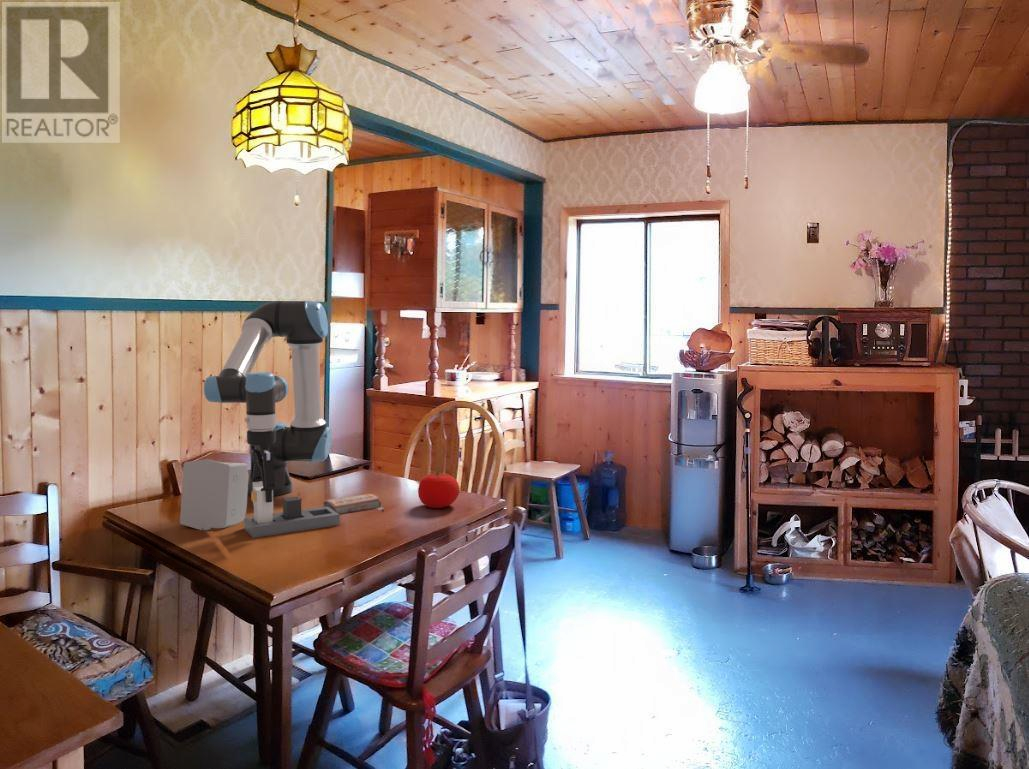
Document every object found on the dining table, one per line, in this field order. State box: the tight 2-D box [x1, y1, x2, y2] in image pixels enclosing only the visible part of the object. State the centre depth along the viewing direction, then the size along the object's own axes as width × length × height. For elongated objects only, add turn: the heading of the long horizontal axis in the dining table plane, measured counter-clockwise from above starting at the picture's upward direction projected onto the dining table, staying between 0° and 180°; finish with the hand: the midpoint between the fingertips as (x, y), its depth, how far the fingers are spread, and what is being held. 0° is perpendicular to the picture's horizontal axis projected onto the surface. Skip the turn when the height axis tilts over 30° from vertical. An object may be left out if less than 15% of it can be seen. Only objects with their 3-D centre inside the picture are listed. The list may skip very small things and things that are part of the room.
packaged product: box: [323, 493, 385, 515], centre depth 233 cm, size 18×5×10 cm
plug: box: [250, 487, 273, 524], centre depth 208 cm, size 4×5×12 cm
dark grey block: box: [282, 496, 302, 520], centre depth 213 cm, size 4×4×8 cm
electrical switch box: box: [179, 458, 249, 531], centre depth 220 cm, size 15×15×20 cm
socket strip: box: [243, 506, 341, 539], centre depth 213 cm, size 10×24×4 cm, turn 123°
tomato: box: [417, 472, 460, 509], centre depth 240 cm, size 12×13×11 cm
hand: (263, 508), depth 209 cm, fingers open, 10 cm apart
